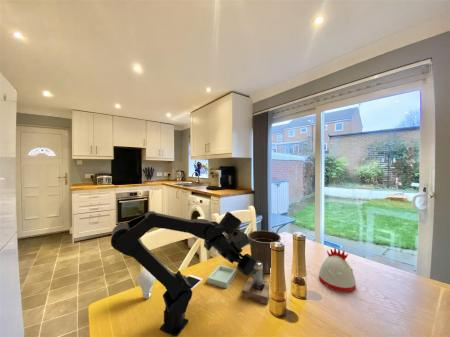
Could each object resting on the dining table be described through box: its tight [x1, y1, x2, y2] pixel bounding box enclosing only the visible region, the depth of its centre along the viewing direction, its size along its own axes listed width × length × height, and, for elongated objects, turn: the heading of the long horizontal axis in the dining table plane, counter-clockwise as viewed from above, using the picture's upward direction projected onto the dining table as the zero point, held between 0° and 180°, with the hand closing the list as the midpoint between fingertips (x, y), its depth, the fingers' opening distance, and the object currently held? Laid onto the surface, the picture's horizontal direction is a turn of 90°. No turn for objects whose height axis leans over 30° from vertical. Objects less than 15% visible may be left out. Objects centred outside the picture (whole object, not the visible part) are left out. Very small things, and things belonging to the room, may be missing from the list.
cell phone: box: [186, 274, 204, 291], centre depth 82 cm, size 8×16×1 cm, turn 152°
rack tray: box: [206, 264, 238, 289], centre depth 88 cm, size 12×9×2 cm
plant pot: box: [247, 230, 282, 275], centre depth 97 cm, size 16×16×16 cm
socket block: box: [241, 276, 270, 305], centre depth 78 cm, size 10×10×2 cm
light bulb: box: [137, 268, 157, 299], centre depth 74 cm, size 7×7×11 cm
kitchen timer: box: [318, 247, 356, 293], centre depth 86 cm, size 14×14×15 cm
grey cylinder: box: [252, 261, 263, 291], centre depth 78 cm, size 4×4×12 cm
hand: (248, 267), depth 75 cm, fingers open, 9 cm apart
